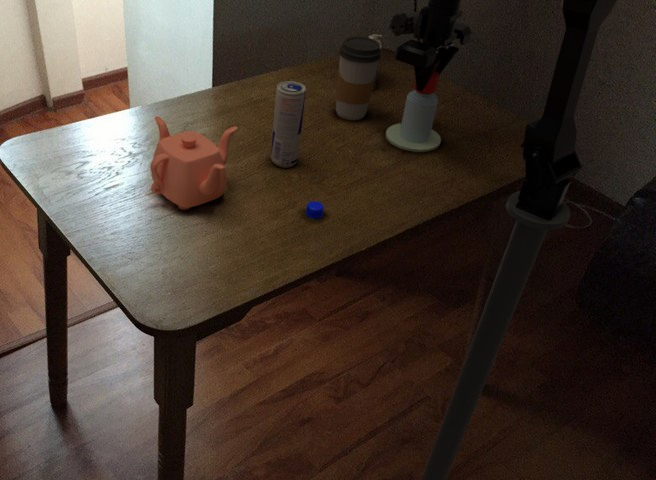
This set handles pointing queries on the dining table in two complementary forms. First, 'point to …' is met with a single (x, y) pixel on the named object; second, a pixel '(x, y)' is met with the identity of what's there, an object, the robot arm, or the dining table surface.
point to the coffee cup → (356, 76)
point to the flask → (376, 37)
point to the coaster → (399, 142)
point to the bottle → (418, 117)
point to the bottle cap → (314, 210)
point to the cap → (430, 84)
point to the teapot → (189, 166)
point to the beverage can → (287, 123)
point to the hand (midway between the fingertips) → (424, 87)
